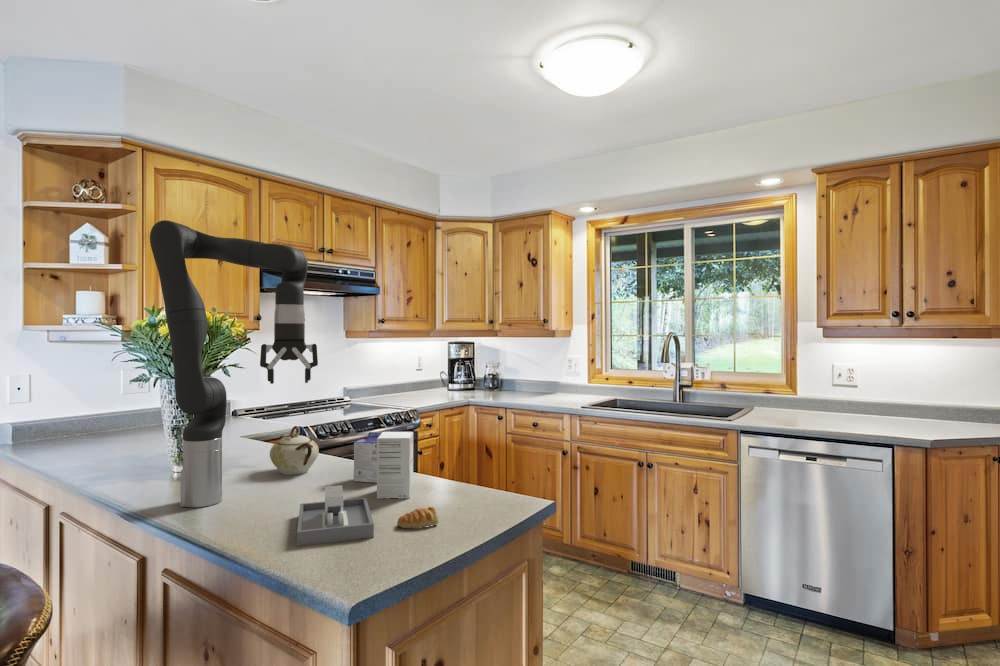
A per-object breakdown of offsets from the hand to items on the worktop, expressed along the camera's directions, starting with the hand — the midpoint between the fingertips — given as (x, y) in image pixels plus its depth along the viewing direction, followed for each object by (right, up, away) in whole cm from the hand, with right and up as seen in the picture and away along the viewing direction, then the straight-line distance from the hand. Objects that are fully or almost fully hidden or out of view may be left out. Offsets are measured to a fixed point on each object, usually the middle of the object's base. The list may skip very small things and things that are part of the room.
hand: (289, 383), depth 144 cm
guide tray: (+17, -32, -16) cm, 40 cm away
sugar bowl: (-11, -32, +32) cm, 47 cm away
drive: (+17, -31, -16) cm, 38 cm away
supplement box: (+26, -32, +9) cm, 43 cm away
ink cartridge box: (+17, -32, +23) cm, 43 cm away
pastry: (+37, -33, -15) cm, 51 cm away
